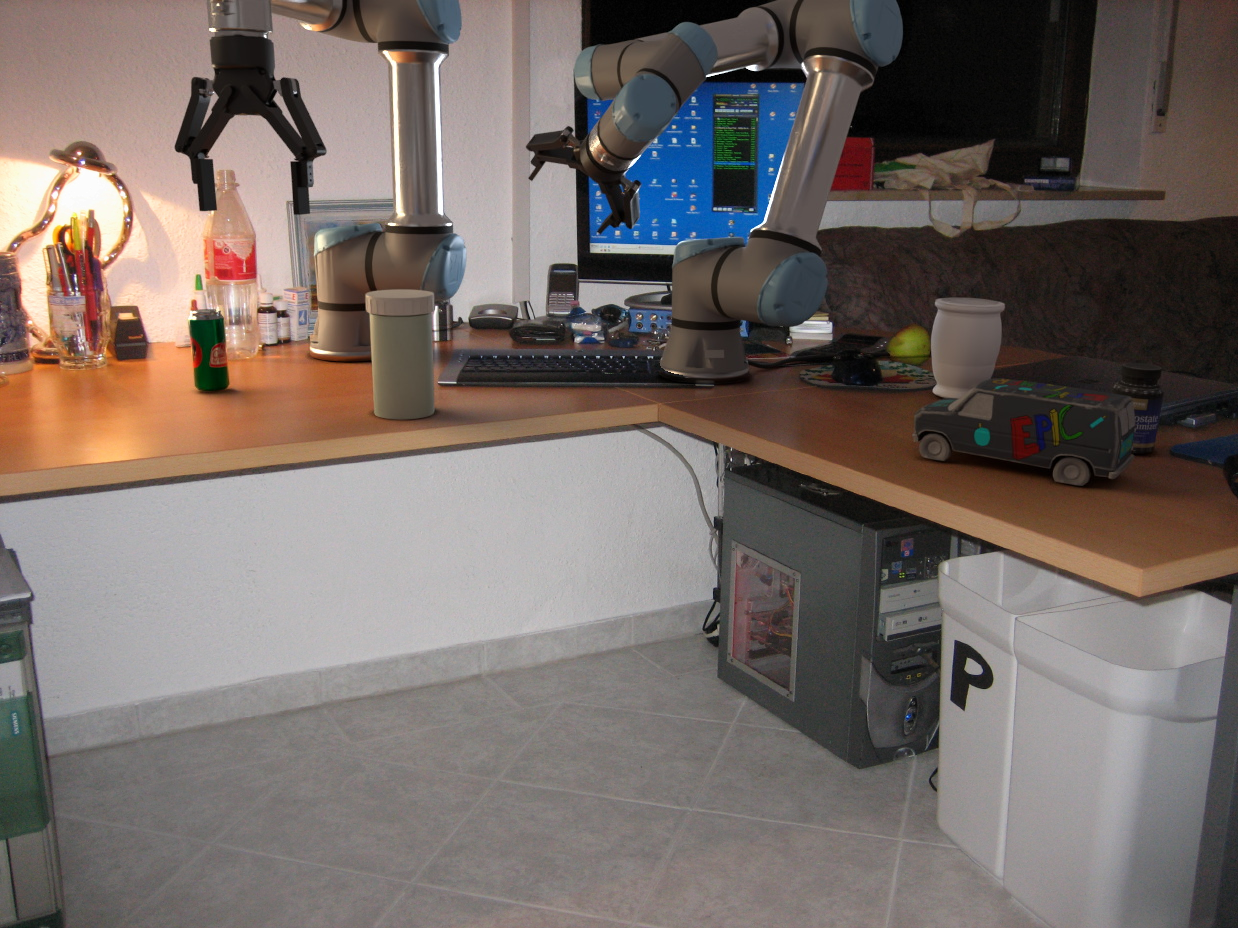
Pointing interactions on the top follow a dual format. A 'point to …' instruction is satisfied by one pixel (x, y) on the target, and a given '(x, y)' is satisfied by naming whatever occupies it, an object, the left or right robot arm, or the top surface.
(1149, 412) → the pill bottle
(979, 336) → the jar
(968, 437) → the toy van
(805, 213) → the right robot arm
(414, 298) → the lid
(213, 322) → the soda can
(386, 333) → the screw-top jar
